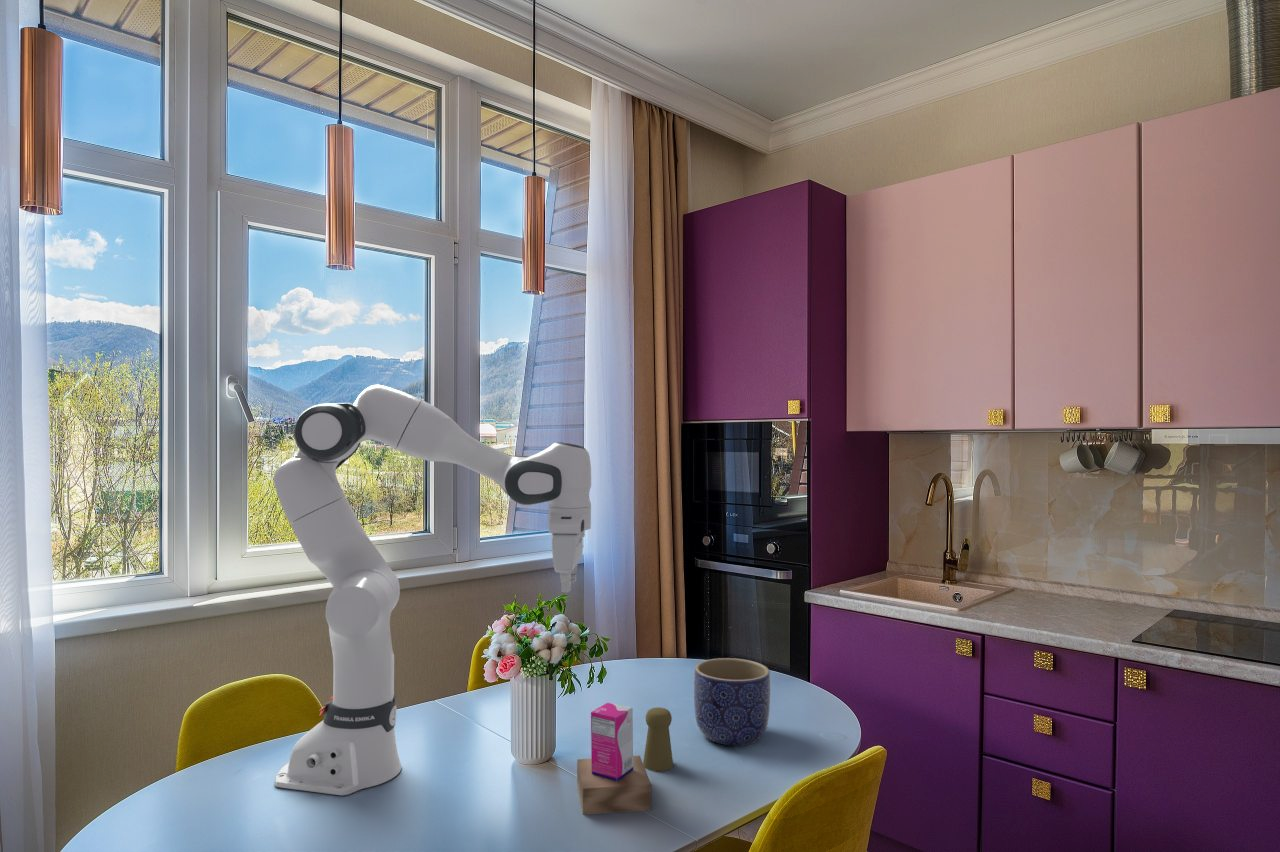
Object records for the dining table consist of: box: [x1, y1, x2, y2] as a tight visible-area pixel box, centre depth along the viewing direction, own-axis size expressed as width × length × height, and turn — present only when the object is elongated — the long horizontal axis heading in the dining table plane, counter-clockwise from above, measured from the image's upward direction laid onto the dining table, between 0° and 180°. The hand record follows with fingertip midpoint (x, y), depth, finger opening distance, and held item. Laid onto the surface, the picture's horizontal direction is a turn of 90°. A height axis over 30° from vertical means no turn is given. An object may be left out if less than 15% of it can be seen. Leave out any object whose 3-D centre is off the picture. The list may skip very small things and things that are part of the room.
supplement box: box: [590, 702, 634, 781], centre depth 138 cm, size 6×6×12 cm
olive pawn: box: [642, 707, 674, 772], centre depth 152 cm, size 6×6×11 cm
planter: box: [693, 657, 771, 747], centre depth 166 cm, size 17×17×15 cm
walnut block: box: [576, 755, 652, 815], centre depth 139 cm, size 12×12×5 cm
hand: (568, 587), depth 158 cm, fingers open, 8 cm apart
